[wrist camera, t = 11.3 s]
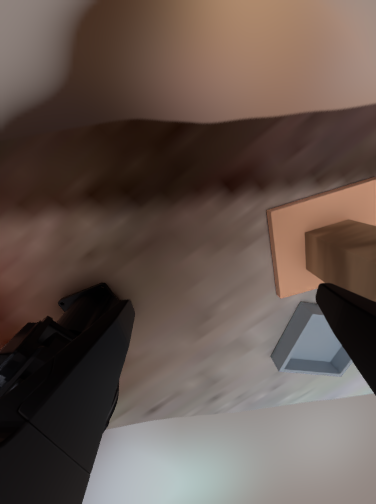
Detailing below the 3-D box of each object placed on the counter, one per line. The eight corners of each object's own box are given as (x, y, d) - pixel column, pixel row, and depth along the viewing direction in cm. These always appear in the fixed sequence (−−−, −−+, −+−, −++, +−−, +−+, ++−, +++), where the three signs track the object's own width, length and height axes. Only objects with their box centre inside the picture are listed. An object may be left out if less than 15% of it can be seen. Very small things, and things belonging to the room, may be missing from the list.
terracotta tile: (276, 294, 25) (280, 298, 24) (266, 210, 20) (271, 211, 19) (363, 269, 24) (371, 272, 24) (373, 177, 20) (383, 177, 19)
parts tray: (270, 356, 30) (278, 371, 28) (300, 301, 26) (312, 313, 23) (329, 362, 32) (341, 376, 29) (365, 311, 27) (383, 323, 25)
